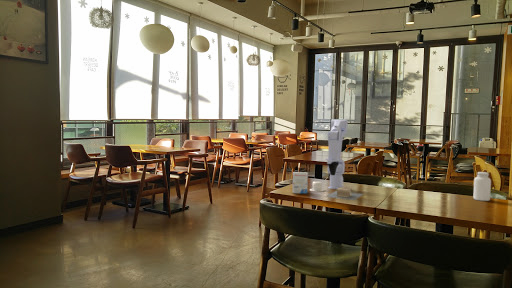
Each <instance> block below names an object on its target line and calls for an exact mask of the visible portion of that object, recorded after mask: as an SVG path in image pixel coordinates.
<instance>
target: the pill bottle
mask: <svg viewBox="0 0 512 288" xmlns="http://www.w3.org/2000/svg"><path fill="white" fill-rule="evenodd" d="M489 175H490V174H489V172H485V171H478V172H477V175H476V177H474V179H473V195H472V196H473V199H474V200H476V201H481V202H488V201H490V200H491V191H492V190H491V188H492V187H491V186H492V179H491V178H490V177H489Z"/></svg>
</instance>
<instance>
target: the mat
mask: <svg viewBox="0 0 512 288" xmlns="http://www.w3.org/2000/svg"><path fill="white" fill-rule="evenodd" d="M363 195H364V193H359V192H351V196H349V197H340V196H337V190H336V191H333V192H331V193H329V194H328V195H326V196H324V197H325V198H333V199H340V200H341V199H342V200H350V201H355V200H357V199H358V198H360V197H362V196H363Z"/></svg>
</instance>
